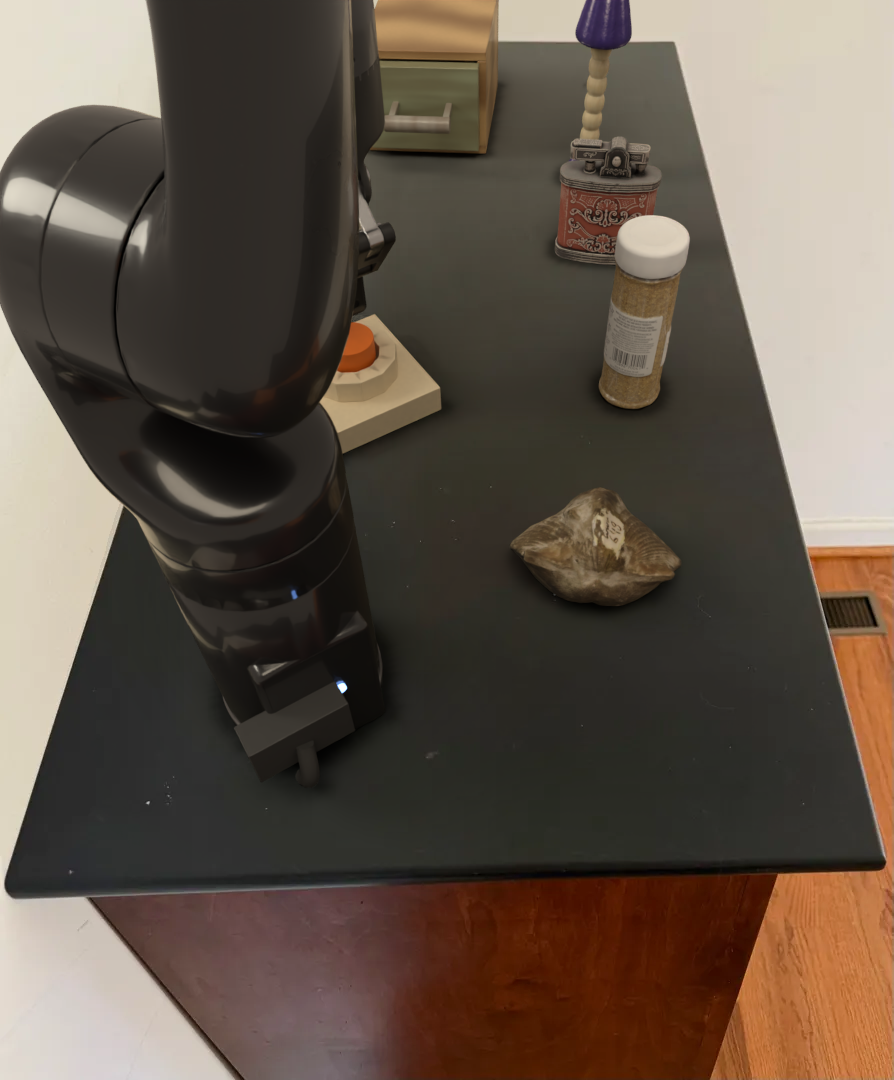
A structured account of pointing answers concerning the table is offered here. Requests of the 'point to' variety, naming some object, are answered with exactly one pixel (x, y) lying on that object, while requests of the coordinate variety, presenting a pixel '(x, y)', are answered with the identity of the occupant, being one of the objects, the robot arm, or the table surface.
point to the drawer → (430, 104)
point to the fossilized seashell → (596, 552)
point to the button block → (380, 392)
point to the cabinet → (444, 43)
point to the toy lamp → (600, 53)
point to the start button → (358, 349)
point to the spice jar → (642, 308)
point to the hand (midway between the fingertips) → (348, 309)
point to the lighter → (602, 196)
